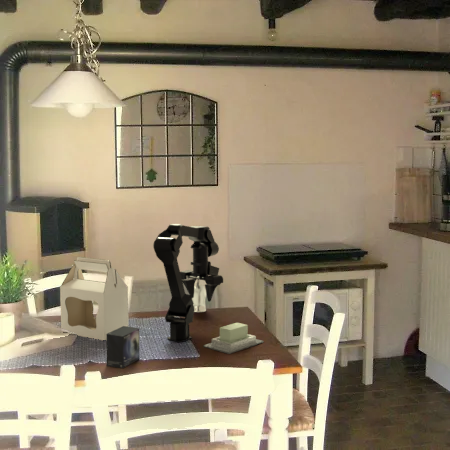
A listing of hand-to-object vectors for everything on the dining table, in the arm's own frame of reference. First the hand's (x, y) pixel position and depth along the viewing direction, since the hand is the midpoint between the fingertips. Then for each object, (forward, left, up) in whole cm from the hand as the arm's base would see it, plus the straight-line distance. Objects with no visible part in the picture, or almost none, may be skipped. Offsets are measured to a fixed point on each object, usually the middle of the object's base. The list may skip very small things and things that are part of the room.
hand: (200, 299), depth 238 cm
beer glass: (+19, +20, -11) cm, 30 cm away
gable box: (-31, +25, -11) cm, 41 cm away
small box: (-46, -11, -11) cm, 49 cm away
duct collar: (-8, -24, -11) cm, 28 cm away
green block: (-8, -24, -10) cm, 27 cm away
